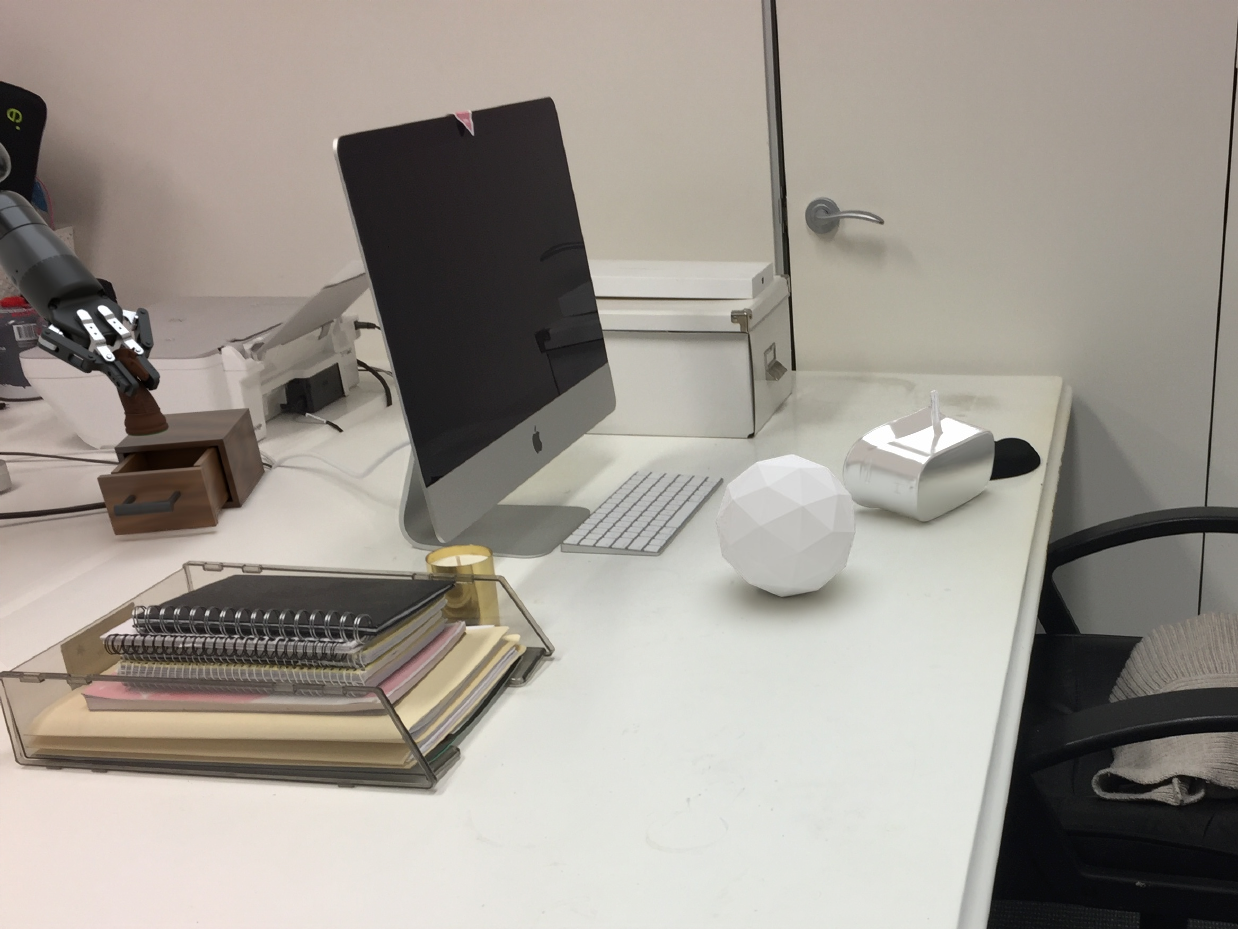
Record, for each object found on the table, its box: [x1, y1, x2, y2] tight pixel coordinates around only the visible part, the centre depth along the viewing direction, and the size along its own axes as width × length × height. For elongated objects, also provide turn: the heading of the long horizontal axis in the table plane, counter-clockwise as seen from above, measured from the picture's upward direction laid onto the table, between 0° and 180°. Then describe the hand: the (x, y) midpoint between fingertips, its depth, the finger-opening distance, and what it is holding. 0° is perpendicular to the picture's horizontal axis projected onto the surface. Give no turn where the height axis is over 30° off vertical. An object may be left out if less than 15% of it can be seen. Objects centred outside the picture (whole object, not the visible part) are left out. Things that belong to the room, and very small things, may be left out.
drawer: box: [96, 445, 231, 536], centre depth 152 cm, size 19×11×7 cm, turn 12°
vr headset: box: [842, 390, 996, 523], centre depth 153 cm, size 18×11×14 cm, turn 142°
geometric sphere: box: [715, 453, 857, 598], centre depth 130 cm, size 14×15×15 cm
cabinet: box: [114, 407, 266, 510], centre depth 163 cm, size 15×13×9 cm
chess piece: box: [111, 347, 169, 436], centre depth 147 cm, size 5×5×10 cm
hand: (145, 388), depth 146 cm, fingers closed on chess piece
